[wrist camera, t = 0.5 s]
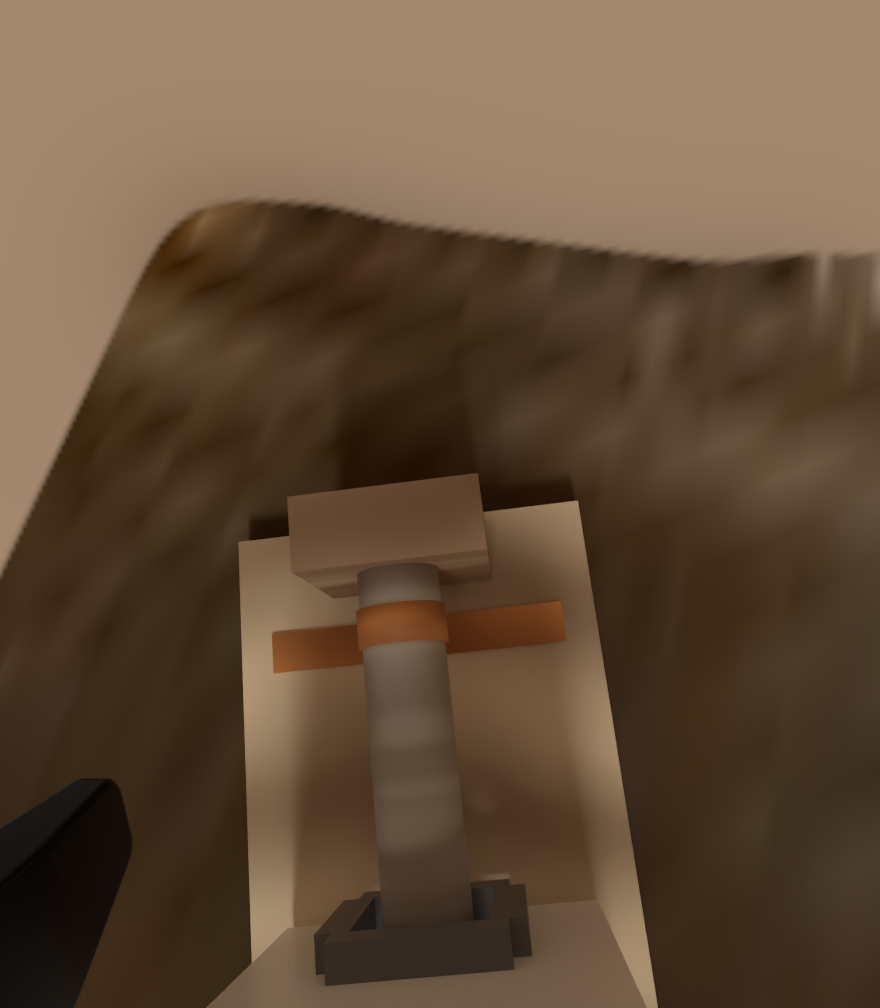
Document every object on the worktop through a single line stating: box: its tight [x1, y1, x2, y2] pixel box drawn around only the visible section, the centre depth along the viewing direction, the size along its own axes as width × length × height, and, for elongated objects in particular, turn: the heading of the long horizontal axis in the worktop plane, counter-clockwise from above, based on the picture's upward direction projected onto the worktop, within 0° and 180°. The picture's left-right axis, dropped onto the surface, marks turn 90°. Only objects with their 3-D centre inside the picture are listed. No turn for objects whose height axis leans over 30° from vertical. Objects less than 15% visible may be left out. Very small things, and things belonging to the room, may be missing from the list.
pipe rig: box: [239, 473, 658, 1008], centre depth 20 cm, size 18×11×6 cm, turn 6°
